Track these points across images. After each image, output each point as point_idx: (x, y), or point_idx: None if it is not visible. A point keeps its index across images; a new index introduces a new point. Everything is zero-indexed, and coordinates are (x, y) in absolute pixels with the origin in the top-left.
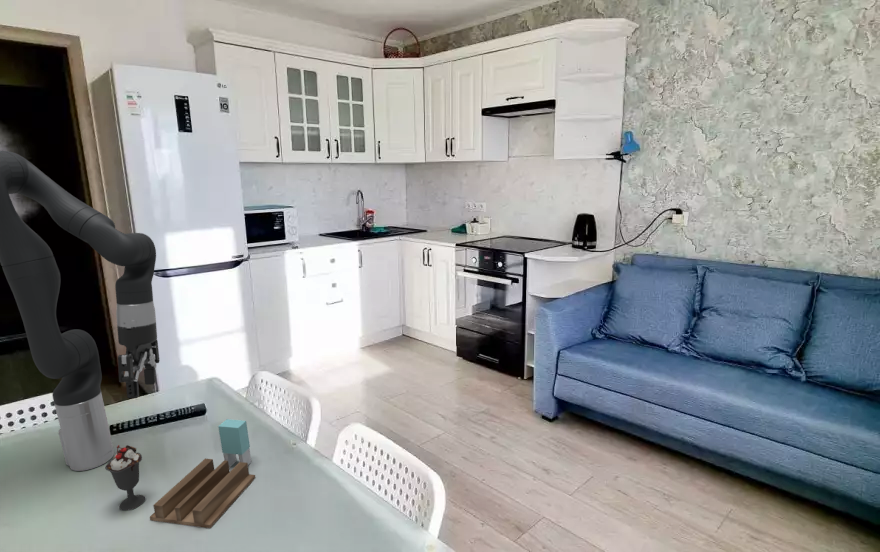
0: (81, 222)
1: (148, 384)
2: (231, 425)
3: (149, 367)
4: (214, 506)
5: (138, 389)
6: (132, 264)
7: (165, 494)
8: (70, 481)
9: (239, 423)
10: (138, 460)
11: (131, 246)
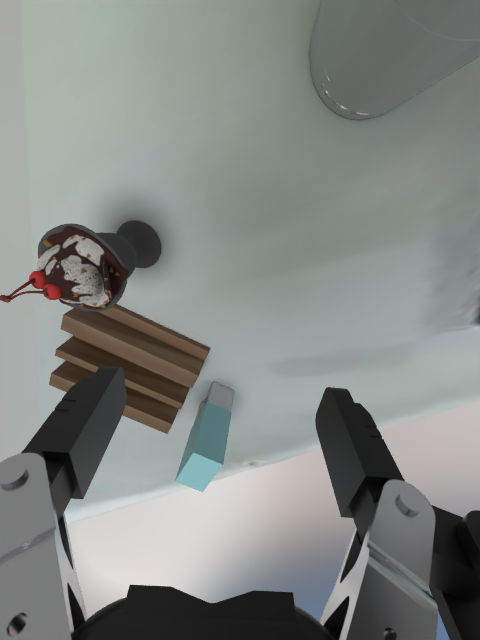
0: None
1: (323, 396)
2: (189, 472)
3: (365, 516)
4: None
5: (106, 440)
6: None
7: (92, 328)
8: (265, 23)
9: (194, 482)
10: (87, 306)
11: None
